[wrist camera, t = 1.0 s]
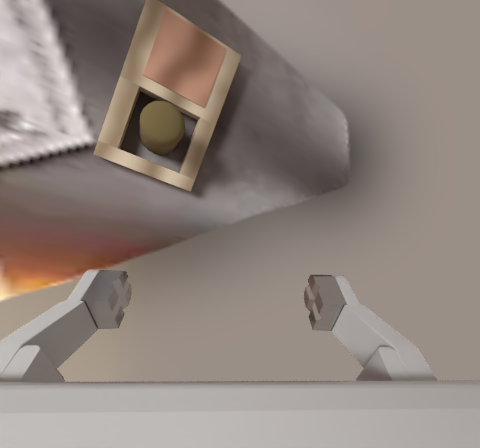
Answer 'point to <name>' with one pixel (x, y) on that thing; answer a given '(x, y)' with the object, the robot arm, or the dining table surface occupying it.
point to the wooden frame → (170, 87)
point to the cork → (161, 127)
